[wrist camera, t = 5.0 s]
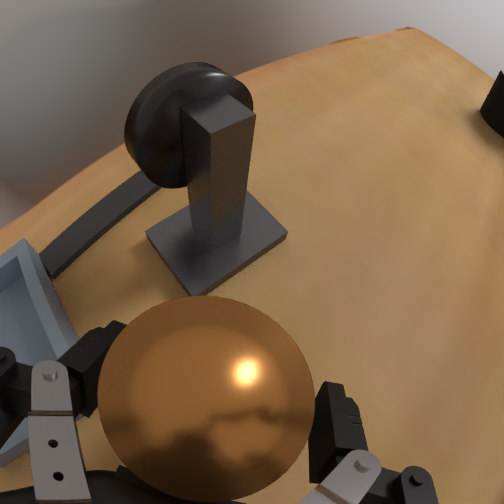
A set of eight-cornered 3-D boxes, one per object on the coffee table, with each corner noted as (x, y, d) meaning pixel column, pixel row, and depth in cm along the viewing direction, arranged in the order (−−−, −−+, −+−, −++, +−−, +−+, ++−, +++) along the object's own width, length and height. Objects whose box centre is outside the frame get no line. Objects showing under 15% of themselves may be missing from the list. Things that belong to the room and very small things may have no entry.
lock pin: (221, 356, 18) (222, 258, 7) (267, 410, 17) (356, 408, 6) (164, 397, 17) (62, 368, 5) (210, 453, 15) (190, 536, 4)
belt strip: (169, 155, 26) (168, 150, 25) (187, 168, 25) (186, 163, 25) (41, 258, 20) (37, 255, 19) (54, 278, 19) (51, 275, 19)
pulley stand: (227, 180, 25) (237, 44, 14) (285, 238, 23) (332, 100, 12) (141, 230, 22) (99, 91, 12) (194, 302, 20) (170, 172, 9)
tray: (42, 257, 20) (24, 237, 17) (112, 396, 16) (95, 393, 14) (-50, 332, 16) (-71, 320, 13) (1, 466, 12) (-23, 469, 9)
